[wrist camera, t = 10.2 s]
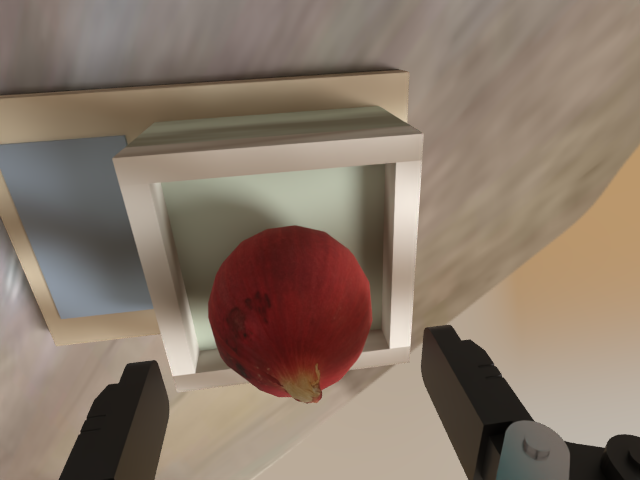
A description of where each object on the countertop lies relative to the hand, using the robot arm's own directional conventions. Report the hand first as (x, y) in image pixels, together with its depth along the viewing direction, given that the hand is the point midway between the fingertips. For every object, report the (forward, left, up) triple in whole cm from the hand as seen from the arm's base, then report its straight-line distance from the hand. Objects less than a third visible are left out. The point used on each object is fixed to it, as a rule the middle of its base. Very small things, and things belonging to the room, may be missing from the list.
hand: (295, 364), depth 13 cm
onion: (0, 0, -7) cm, 7 cm away
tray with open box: (0, -3, -13) cm, 14 cm away
